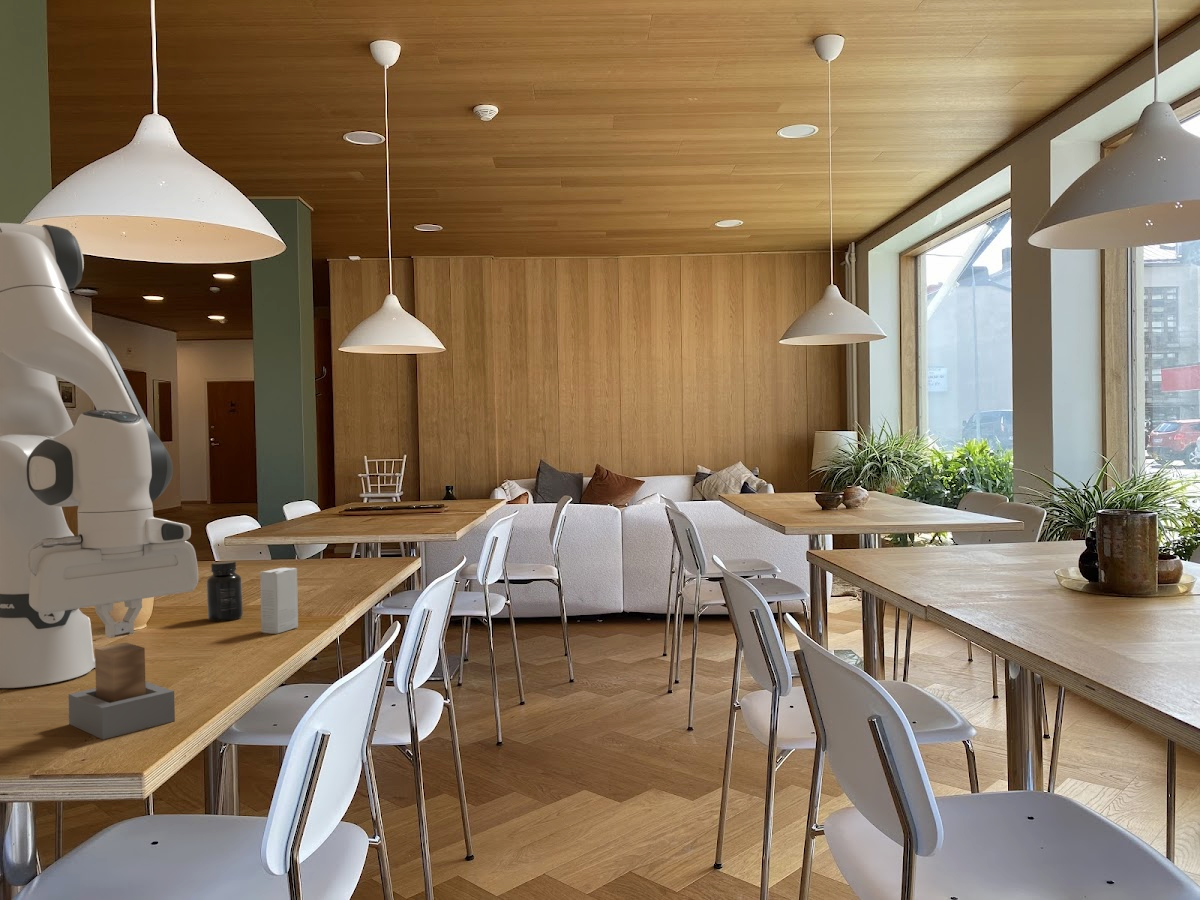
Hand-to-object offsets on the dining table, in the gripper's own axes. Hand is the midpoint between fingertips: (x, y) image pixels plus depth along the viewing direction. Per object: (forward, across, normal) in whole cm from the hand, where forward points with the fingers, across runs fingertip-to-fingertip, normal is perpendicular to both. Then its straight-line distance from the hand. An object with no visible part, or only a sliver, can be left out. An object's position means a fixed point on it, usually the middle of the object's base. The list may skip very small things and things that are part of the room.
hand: (119, 635), depth 117 cm
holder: (+12, 0, 0) cm, 12 cm away
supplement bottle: (+12, +44, +56) cm, 73 cm away
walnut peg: (+12, 0, 0) cm, 12 cm away
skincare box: (+12, +44, +35) cm, 58 cm away
